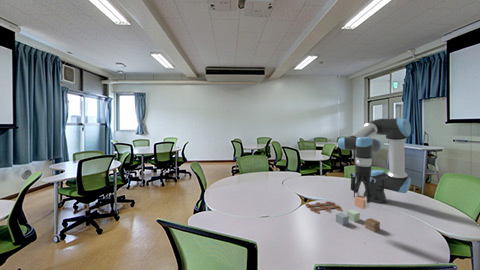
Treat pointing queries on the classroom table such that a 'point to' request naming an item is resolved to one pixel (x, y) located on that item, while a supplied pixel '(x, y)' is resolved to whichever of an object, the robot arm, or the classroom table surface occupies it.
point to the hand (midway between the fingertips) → (361, 205)
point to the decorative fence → (323, 207)
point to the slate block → (342, 219)
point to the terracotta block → (360, 202)
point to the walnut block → (372, 224)
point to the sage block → (353, 215)
